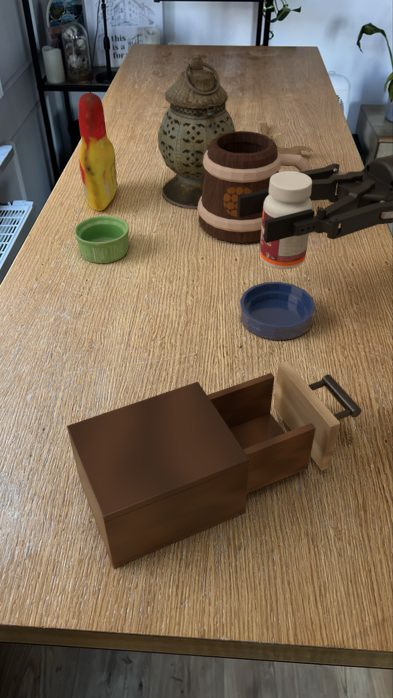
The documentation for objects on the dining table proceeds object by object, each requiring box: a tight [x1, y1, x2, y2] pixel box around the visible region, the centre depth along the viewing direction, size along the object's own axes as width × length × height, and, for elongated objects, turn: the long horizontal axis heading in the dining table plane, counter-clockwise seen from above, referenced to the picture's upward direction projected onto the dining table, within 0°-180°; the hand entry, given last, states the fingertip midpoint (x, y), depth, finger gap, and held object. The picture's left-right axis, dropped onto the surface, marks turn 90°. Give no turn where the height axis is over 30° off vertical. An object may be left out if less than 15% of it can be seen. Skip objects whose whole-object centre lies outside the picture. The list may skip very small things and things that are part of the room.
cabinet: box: [66, 381, 249, 569], centre depth 60 cm, size 15×12×9 cm
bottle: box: [78, 92, 119, 211], centre depth 106 cm, size 12×6×20 cm, turn 175°
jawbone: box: [260, 122, 314, 156], centre depth 131 cm, size 9×20×2 cm, turn 27°
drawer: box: [207, 360, 363, 494], centre depth 65 cm, size 18×10×7 cm, turn 115°
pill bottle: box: [259, 170, 314, 270], centre depth 75 cm, size 6×6×11 cm
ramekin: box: [73, 214, 130, 264], centre depth 98 cm, size 9×9×4 cm
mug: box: [197, 130, 312, 244], centre depth 101 cm, size 20×15×15 cm
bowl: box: [239, 281, 317, 341], centre depth 85 cm, size 11×11×3 cm
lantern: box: [157, 55, 236, 210], centre depth 107 cm, size 14×14×25 cm
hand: (252, 218), depth 73 cm, fingers closed on pill bottle, 6 cm apart
